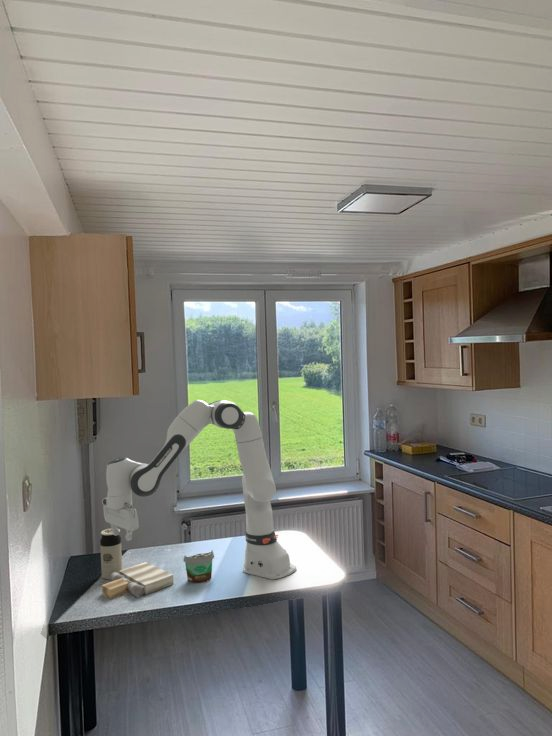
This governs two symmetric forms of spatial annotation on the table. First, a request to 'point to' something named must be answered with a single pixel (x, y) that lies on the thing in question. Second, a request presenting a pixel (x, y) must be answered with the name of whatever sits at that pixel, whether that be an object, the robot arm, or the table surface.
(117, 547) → the travel mug
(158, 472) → the robot arm
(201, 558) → the food container
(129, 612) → the table surface
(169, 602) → the table surface
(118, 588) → the tan rectangular block
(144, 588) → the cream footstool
